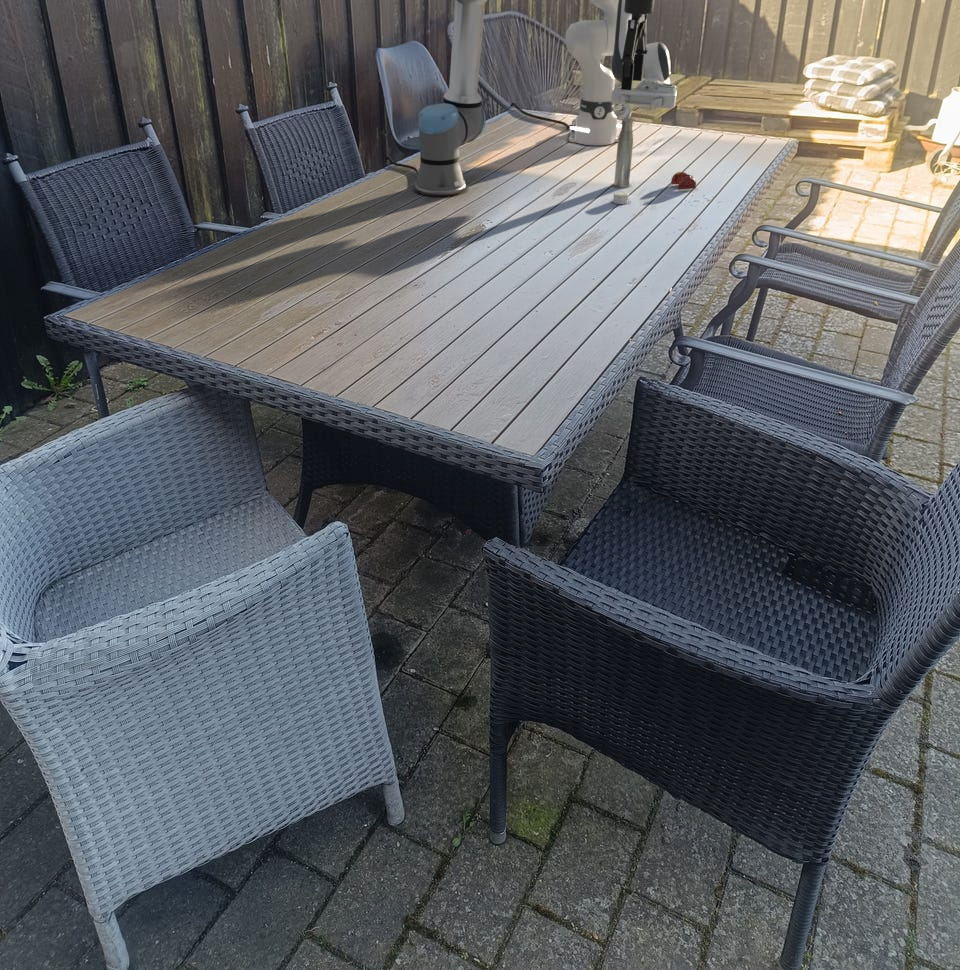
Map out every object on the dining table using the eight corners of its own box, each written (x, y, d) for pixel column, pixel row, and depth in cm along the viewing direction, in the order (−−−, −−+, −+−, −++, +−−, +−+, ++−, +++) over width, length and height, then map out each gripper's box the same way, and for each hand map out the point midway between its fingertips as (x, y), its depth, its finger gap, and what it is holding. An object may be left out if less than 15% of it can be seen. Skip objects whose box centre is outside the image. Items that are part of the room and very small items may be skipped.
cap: (610, 202, 248) (611, 194, 246) (616, 198, 251) (616, 190, 250) (625, 205, 246) (626, 196, 245) (630, 200, 250) (631, 192, 248)
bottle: (617, 182, 265) (623, 117, 254) (631, 184, 263) (637, 118, 252) (611, 186, 262) (617, 120, 250) (625, 188, 260) (631, 121, 248)
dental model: (687, 168, 262) (698, 175, 256) (685, 181, 264) (697, 189, 258) (670, 170, 261) (681, 177, 255) (669, 183, 263) (680, 191, 257)
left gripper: (645, 1, 207) (636, 94, 220) (663, -9, 226) (653, 77, 239) (615, 0, 209) (607, 92, 222) (635, -10, 228) (627, 76, 241)
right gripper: (617, 81, 270) (606, 89, 259) (681, 85, 263) (672, 94, 253) (616, 102, 274) (604, 111, 263) (678, 107, 267) (669, 116, 257)
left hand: (631, 85), depth 230 cm, fingers open, 13 cm apart
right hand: (638, 102), depth 258 cm, fingers open, 8 cm apart
